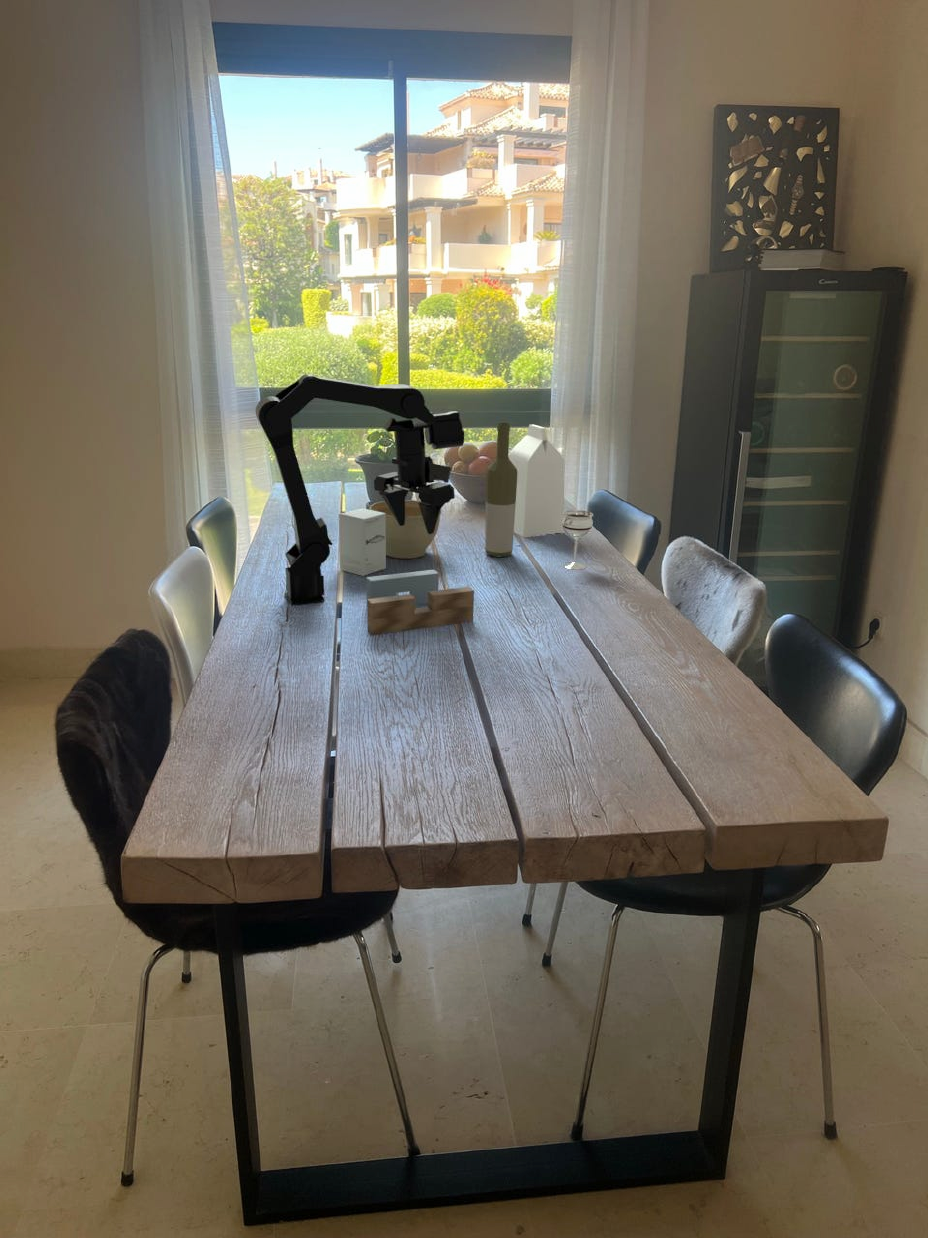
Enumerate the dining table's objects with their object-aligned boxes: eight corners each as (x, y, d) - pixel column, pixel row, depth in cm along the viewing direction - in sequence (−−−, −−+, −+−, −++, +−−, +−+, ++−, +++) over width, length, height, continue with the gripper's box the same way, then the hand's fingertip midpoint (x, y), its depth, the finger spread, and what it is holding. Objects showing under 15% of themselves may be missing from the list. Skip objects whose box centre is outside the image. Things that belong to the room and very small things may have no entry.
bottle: (514, 559, 215) (520, 426, 204) (483, 558, 215) (487, 425, 205) (513, 550, 222) (519, 421, 211) (483, 549, 222) (487, 420, 211)
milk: (501, 525, 243) (505, 423, 233) (540, 521, 247) (545, 421, 238) (523, 537, 233) (528, 431, 223) (563, 533, 237) (570, 429, 228)
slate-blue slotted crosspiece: (371, 610, 181) (370, 581, 179) (366, 606, 183) (366, 577, 181) (438, 602, 187) (438, 573, 184) (433, 598, 189) (433, 569, 187)
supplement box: (364, 577, 200) (363, 519, 196) (338, 570, 205) (337, 513, 200) (387, 569, 206) (386, 512, 201) (362, 562, 210) (361, 506, 206)
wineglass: (589, 562, 214) (593, 510, 210) (590, 571, 208) (594, 518, 204) (559, 560, 215) (562, 509, 210) (559, 569, 208) (562, 516, 204)
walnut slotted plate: (372, 635, 169) (371, 603, 167) (367, 630, 171) (367, 599, 169) (473, 620, 177) (474, 590, 175) (467, 616, 179) (468, 586, 177)
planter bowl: (431, 566, 208) (432, 518, 205) (361, 560, 211) (360, 513, 207) (447, 547, 223) (448, 501, 219) (381, 541, 226) (381, 497, 222)
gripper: (473, 450, 181) (477, 528, 187) (413, 439, 194) (418, 512, 200) (428, 461, 174) (434, 542, 180) (369, 448, 187) (376, 524, 193)
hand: (416, 529), depth 188 cm, fingers open, 9 cm apart
